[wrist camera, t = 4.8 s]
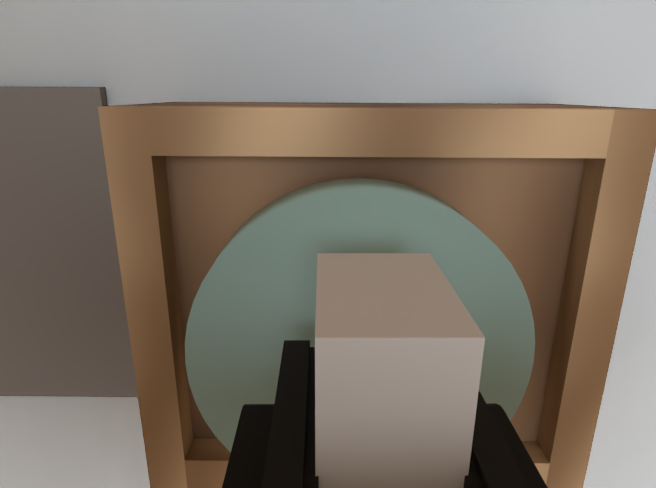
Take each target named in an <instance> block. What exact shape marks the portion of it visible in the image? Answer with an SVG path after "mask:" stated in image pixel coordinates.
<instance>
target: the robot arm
mask: <svg viewBox="0 0 656 488" xmlns="http://www.w3.org/2000/svg"><path fill="white" fill-rule="evenodd" d="M222 488H319V476H315V347H310V340H284V344H283V351H282V357H281V364H280V370H279V377H278V384H277V390H276V397H275V403H274V404H244V405H243V407H242V410H241V414H240V418H239V422H238V426H237V430H236V434H235V438H234V442H233V446H232V450H231V454H230V457H229V461H228V465H227V469H226V473H225V477H224V481H223V485H222ZM463 488H548V487H547V485H546V484H545V482H544V480H543V478H542V477H541V475H540V473H539V471H538V469H537V468H536V466H535V464H534V462H533V461H532V459H531V457H530V455H529V453H528V452H527V450H526V448H525V446H524V445H523V443H522V441H521V439H520V437H519V436H518V434H517V432H516V430H515V429H514V427H513V425H512V423H511V422H510V420H509V418H508V416H507V414H506V413H505V411H504V409H503V408H502V407H501V405H499V404H497V403H490V404H486V402H485V400H484V398H483V396H482V394H481V393H480V391H479V392H478V400H477V408H476V416H475V425H474V433H473V441H472V449H471V457H470V466H469V474H468V475H465V479H464V487H463Z"/></svg>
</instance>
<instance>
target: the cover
mask: <svg viewBox="0 0 656 488" xmlns="http://www.w3.org/2000/svg"><path fill="white" fill-rule="evenodd" d="M284 340H310V347H315V476H319V488H463V487H464V479H465V475H468V474H469V466H470V457H471V449H472V441H473V433H474V425H475V416H476V408H477V400H478V392H479V391H480V393H481V394H482V396H483V398H484V400H485V402H486V404H490V403H497V404H499V405H501V407H502V408H503V409H504V411H505V413H506V414H507V416H508V418H509V420H511V419H512V417H513V416H514V414H515V412H516V410H517V408H518V407H519V405H520V403H521V401H522V399H523V396H524V394H525V391H526V389H527V386H528V383H529V380H530V376H531V372H532V367H533V363H534V352H535V330H534V320H533V315H532V311H531V306H530V302H529V299H528V297H527V294H526V292H525V289H524V286H523V284H522V282H521V280H520V278H519V276H518V275H517V273H516V271H515V269H514V268H513V266H512V264H511V263H510V262H509V260H508V259H507V258H506V257H505V255H504V254H503V253H502V252H501V250H500V249H499V248H498V247H497V246H496V245H495V244H494V243H493V242H492V241H491V240H490V239H489V238H488V237H487V236H486V235H485V234H484V233H483V232H481V231H480V230H479V229H478V228H477V227H476V226H475V225H474V224H473V223H471V222H470V221H469V220H468V219H467V218H466V217H465V216H464V215H463V214H461V213H460V212H459V211H457V210H456V209H455V208H453V207H452V206H450V205H449V204H447V203H446V202H445V201H443V200H441V199H439V198H437V197H435V196H433V195H431V194H429V193H427V192H425V191H423V190H420V189H417V188H414V187H411V186H408V185H406V184H402V183H397V182H392V181H387V180H382V179H368V178H351V179H337V180H331V181H326V182H321V183H316V184H313V185H310V186H307V187H304V188H301V189H298V190H295V191H293V192H291V193H288V194H286V195H284V196H282V197H280V198H278V199H276V200H274V201H273V202H271V203H270V204H268V205H267V206H265V207H264V208H262V209H261V210H259V211H258V212H256V213H255V214H254V215H253V216H252V217H251V218H250V219H248V220H247V221H246V222H245V223H244V224H243V225H242V226H241V227H240V228H239V229H238V230H237V231H236V232H235V234H234V235H233V236H232V237H231V238H230V239H229V241H228V242H227V243H226V245H225V247H224V248H223V250H222V251H221V253H220V254H219V256H218V257H217V259H216V261H215V262H214V264H213V265H212V267H211V269H210V270H209V272H208V273H207V275H206V277H205V278H204V280H203V281H202V283H201V286H200V288H199V290H198V292H197V294H196V297H195V299H194V301H193V304H192V308H191V311H190V315H189V318H188V322H187V329H186V337H185V365H186V370H187V376H188V381H189V385H190V388H191V391H192V394H193V397H194V400H195V403H196V405H197V407H198V409H199V411H200V413H201V415H202V417H203V419H204V420H205V422H206V423H207V425H208V426H209V427H210V429H211V430H212V432H213V433H214V435H215V436H216V437H217V438H218V439H219V440H220V442H221V443H222V444H223V445H224V446H225V447H226V448H227V449H228V450H229V451H230V452H231V450H232V446H233V442H234V438H235V434H236V430H237V426H238V422H239V418H240V414H241V410H242V407H243V405H244V404H274V403H275V397H276V390H277V384H278V377H279V370H280V364H281V357H282V351H283V344H284Z"/></svg>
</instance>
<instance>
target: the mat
mask: <svg viewBox="0 0 656 488" xmlns="http://www.w3.org/2000/svg"><path fill="white" fill-rule="evenodd" d="M102 106H107V101H106V94H105V87H0V396H89V397H138V393H137V386H136V379H135V372H134V365H133V357H132V350H131V343H130V336H129V329H128V321H127V314H126V307H125V300H124V293H123V285H122V278H121V271H120V264H119V256H118V249H117V242H116V235H115V228H114V220H113V213H112V206H111V199H110V192H109V184H108V177H107V170H106V163H105V156H104V148H103V141H102V134H101V127H100V120H99V112H98V107H102Z"/></svg>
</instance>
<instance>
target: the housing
mask: <svg viewBox="0 0 656 488" xmlns="http://www.w3.org/2000/svg"><path fill="white" fill-rule="evenodd" d="M98 112H99V120H100V127H101V134H102V141H103V148H104V156H105V163H106V170H107V177H108V184H109V192H110V199H111V206H112V213H113V220H114V228H115V235H116V242H117V249H118V256H119V264H120V271H121V278H122V285H123V293H124V300H125V307H126V314H127V321H128V329H129V336H130V343H131V350H132V357H133V365H134V372H135V379H136V386H137V393H138V401H139V408H140V415H141V422H142V430H143V437H144V444H145V451H146V458H147V466H148V473H149V480H150V487H151V488H222V485H223V481H224V477H225V473H226V469H227V465H228V461H229V457H230V454H231V452H230V451H229V450H228V449H227V448H226V447H225V446H224V445H223V444H222V443H221V442H220V440H219V439H218V438H217V437H216V436H215V435H214V433H213V432H212V430H211V429H210V427H209V426H208V425H207V423H206V422H205V420H204V419H203V417H202V415H201V413H200V411H199V409H198V407H197V405H196V403H195V400H194V397H193V394H192V391H191V388H190V385H189V381H188V376H187V370H186V365H185V337H186V329H187V322H188V318H189V315H190V311H191V308H192V304H193V301H194V299H195V297H196V294H197V292H198V290H199V288H200V286H201V283H202V281H203V280H204V278H205V277H206V275H207V273H208V272H209V270H210V269H211V267H212V265H213V264H214V262H215V261H216V259H217V257H218V256H219V254H220V253H221V251H222V250H223V248H224V247H225V245H226V243H227V242H228V241H229V239H230V238H231V237H232V236H233V235H234V234H235V232H236V231H237V230H238V229H239V228H240V227H241V226H242V225H243V224H244V223H245V222H246V221H247V220H248V219H250V218H251V217H252V216H253V215H254V214H255V213H256V212H258V211H259V210H261V209H262V208H264V207H265V206H267V205H268V204H270V203H271V202H273V201H274V200H276V199H278V198H280V197H282V196H284V195H286V194H288V193H291V192H293V191H295V190H298V189H301V188H304V187H307V186H310V185H313V184H316V183H321V182H326V181H331V180H337V179H351V178H368V179H382V180H387V181H392V182H397V183H402V184H406V185H408V186H411V187H414V188H417V189H420V190H423V191H425V192H427V193H429V194H431V195H433V196H435V197H437V198H439V199H441V200H443V201H445V202H446V203H447V204H449V205H450V206H452V207H453V208H455V209H456V210H457V211H459V212H460V213H461V214H463V215H464V216H465V217H466V218H467V219H468V220H469V221H470V222H471V223H473V224H474V225H475V226H476V227H477V228H478V229H479V230H480V231H481V232H483V233H484V234H485V235H486V236H487V237H488V238H489V239H490V240H491V241H492V242H493V243H494V244H495V245H496V246H497V247H498V248H499V249H500V250H501V252H502V253H503V254H504V255H505V257H506V258H507V259H508V260H509V262H510V263H511V264H512V266H513V268H514V269H515V271H516V273H517V275H518V276H519V278H520V280H521V282H522V284H523V286H524V289H525V292H526V294H527V297H528V299H529V302H530V306H531V311H532V315H533V320H534V330H535V352H534V363H533V367H532V372H531V376H530V380H529V383H528V386H527V389H526V391H525V394H524V396H523V399H522V401H521V403H520V405H519V407H518V408H517V410H516V412H515V414H514V416H513V417H512V419H511V420H510V422H511V423H512V425H513V427H514V429H515V430H516V432H517V434H518V436H519V437H520V439H521V441H522V443H523V445H524V446H525V448H526V450H527V452H528V453H529V455H530V457H531V459H532V461H533V462H534V464H535V466H536V468H537V469H538V471H539V473H540V475H541V477H542V478H543V480H544V482H545V484H546V485H547V487H548V488H583V484H584V479H585V475H586V470H587V465H588V461H589V456H590V451H591V447H592V442H593V437H594V433H595V428H596V423H597V419H598V414H599V409H600V405H601V400H602V395H603V391H604V386H605V381H606V377H607V372H608V367H609V363H610V358H611V353H612V349H613V344H614V339H615V335H616V330H617V325H618V321H619V316H620V311H621V307H622V302H623V297H624V293H625V288H626V283H627V279H628V274H629V269H630V265H631V260H632V255H633V251H634V246H635V241H636V237H637V232H638V227H639V223H640V218H641V213H642V209H643V204H644V199H645V195H646V190H647V185H648V181H649V176H650V171H651V167H652V162H653V157H654V153H655V148H656V109H640V108H621V107H602V106H583V105H564V104H466V103H277V102H165V103H150V104H134V105H118V106H102V107H98Z"/></svg>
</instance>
